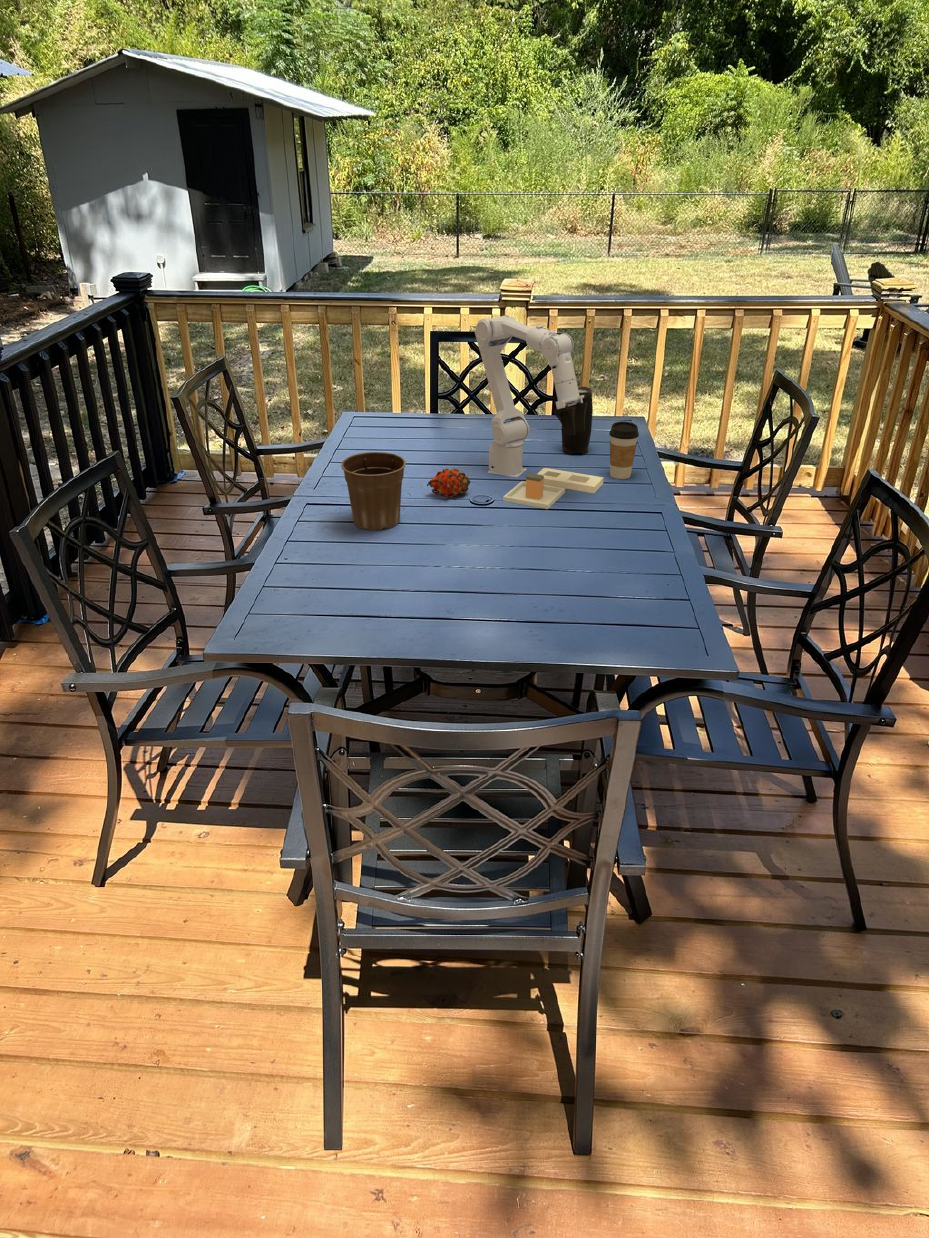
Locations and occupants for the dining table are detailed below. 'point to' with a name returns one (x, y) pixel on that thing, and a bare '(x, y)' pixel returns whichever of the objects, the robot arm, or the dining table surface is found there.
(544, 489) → the tray
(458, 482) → the red lumpy ovoid
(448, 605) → the dining table surface
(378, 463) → the plant pot
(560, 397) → the robot arm
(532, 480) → the plug
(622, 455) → the coffee cup
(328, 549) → the dining table surface
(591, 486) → the power strip
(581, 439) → the portable speaker
